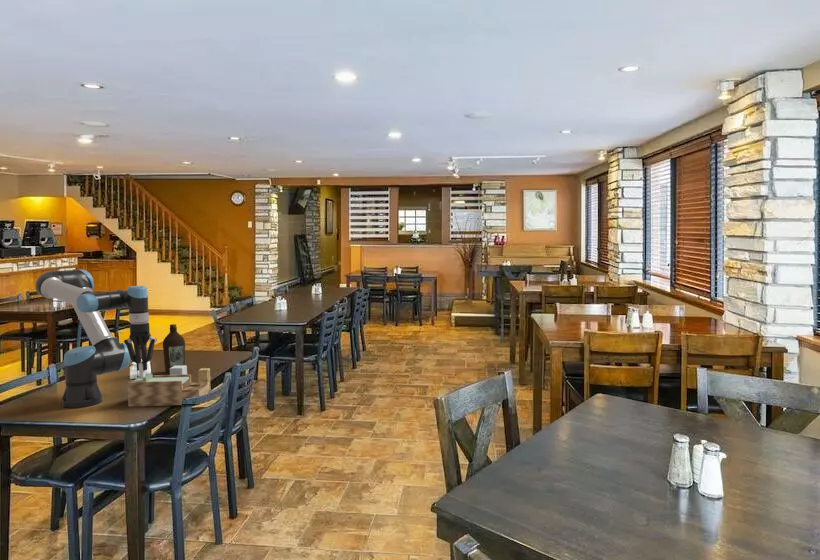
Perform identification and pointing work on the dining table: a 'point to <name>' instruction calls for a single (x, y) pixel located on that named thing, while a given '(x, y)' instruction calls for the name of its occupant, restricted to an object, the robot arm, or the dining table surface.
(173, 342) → the olive oil
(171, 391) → the toolbox
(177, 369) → the product box
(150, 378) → the lid
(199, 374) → the beige wooden block
